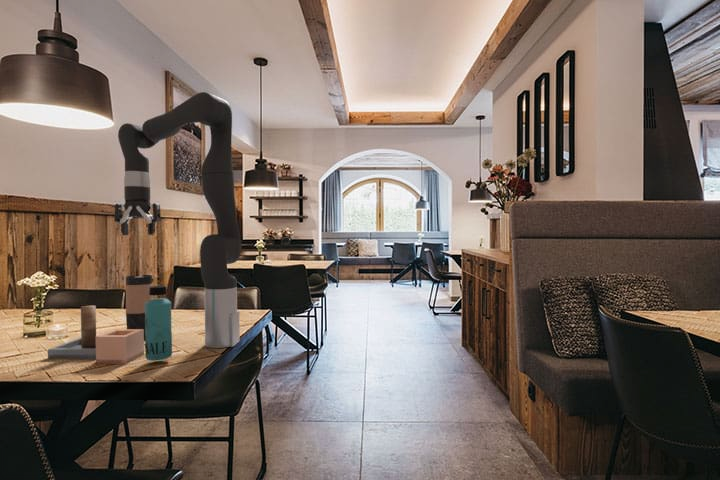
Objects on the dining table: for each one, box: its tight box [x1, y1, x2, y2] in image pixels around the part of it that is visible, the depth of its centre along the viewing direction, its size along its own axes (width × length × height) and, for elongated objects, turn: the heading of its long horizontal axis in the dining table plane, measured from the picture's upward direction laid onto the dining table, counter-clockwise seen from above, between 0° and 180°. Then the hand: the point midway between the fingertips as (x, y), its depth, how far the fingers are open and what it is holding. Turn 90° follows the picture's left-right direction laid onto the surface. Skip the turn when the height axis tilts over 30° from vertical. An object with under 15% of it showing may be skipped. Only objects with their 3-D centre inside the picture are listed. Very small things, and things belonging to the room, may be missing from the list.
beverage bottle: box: [144, 285, 174, 361], centre depth 104 cm, size 6×7×20 cm
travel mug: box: [125, 274, 154, 341], centre depth 128 cm, size 8×8×20 cm
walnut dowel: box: [80, 304, 97, 348], centre depth 113 cm, size 4×4×12 cm
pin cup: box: [95, 328, 145, 365], centre depth 107 cm, size 8×8×7 cm
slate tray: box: [47, 337, 96, 360], centre depth 114 cm, size 14×12×2 cm
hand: (138, 235), depth 133 cm, fingers open, 8 cm apart
